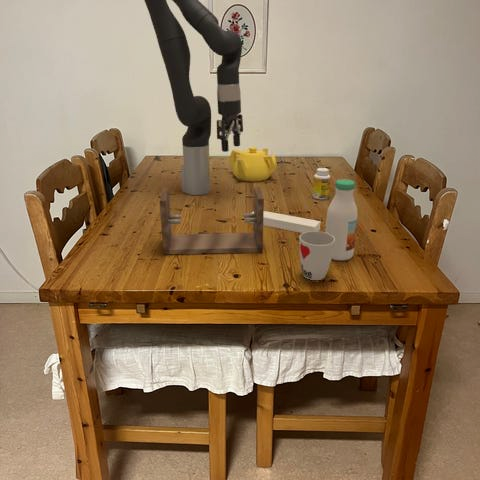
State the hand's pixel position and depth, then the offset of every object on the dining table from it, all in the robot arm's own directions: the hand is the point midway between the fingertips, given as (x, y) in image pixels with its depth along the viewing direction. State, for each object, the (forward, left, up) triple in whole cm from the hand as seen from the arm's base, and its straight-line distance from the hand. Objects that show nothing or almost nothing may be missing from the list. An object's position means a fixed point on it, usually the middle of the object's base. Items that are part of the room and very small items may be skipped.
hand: (231, 148), depth 156 cm
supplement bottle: (+28, +14, -18) cm, 36 cm away
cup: (+44, -42, -18) cm, 63 cm away
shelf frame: (+14, -38, -17) cm, 44 cm away
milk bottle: (+46, -28, -18) cm, 56 cm away
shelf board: (+26, -16, -18) cm, 35 cm away
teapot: (-4, +26, -18) cm, 32 cm away
